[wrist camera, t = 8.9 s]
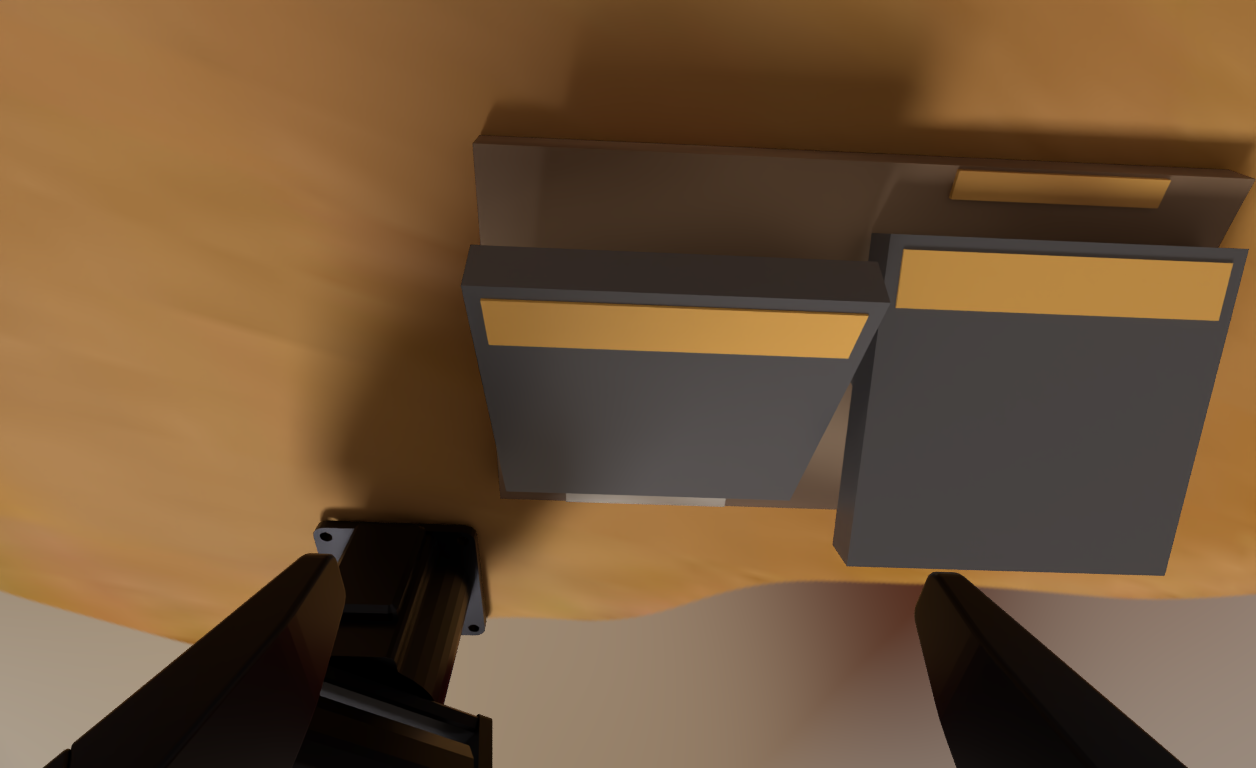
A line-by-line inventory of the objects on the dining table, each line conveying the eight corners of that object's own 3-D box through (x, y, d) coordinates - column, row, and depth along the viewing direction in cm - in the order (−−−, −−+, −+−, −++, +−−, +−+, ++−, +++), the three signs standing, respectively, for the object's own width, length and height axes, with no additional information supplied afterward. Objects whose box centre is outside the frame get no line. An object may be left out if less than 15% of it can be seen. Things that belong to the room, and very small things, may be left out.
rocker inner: (784, 466, 24) (789, 502, 23) (511, 456, 24) (505, 492, 23) (878, 261, 16) (891, 304, 16) (470, 244, 16) (460, 287, 15)
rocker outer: (1130, 553, 22) (1166, 576, 21) (832, 544, 22) (847, 567, 20) (1205, 247, 20) (1250, 249, 18) (871, 233, 19) (891, 233, 18)
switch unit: (1056, 499, 27) (1088, 539, 25) (504, 481, 26) (495, 521, 24) (1228, 169, 20) (1291, 191, 18) (479, 135, 19) (463, 154, 17)
